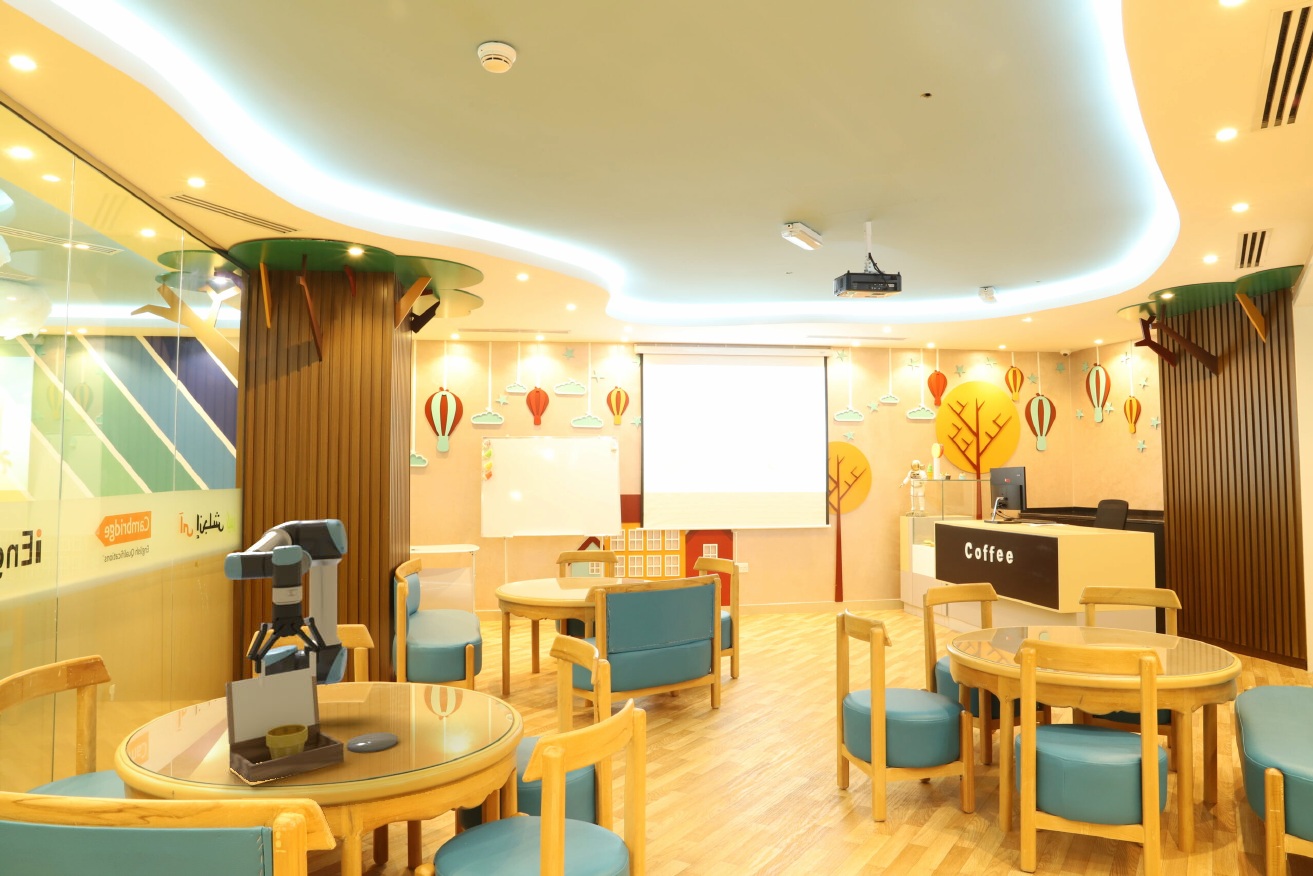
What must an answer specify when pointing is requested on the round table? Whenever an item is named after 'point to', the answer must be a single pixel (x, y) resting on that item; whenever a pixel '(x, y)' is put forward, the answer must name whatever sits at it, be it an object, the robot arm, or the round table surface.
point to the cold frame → (314, 756)
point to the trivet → (372, 742)
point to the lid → (271, 704)
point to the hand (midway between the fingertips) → (287, 680)
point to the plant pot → (286, 740)
